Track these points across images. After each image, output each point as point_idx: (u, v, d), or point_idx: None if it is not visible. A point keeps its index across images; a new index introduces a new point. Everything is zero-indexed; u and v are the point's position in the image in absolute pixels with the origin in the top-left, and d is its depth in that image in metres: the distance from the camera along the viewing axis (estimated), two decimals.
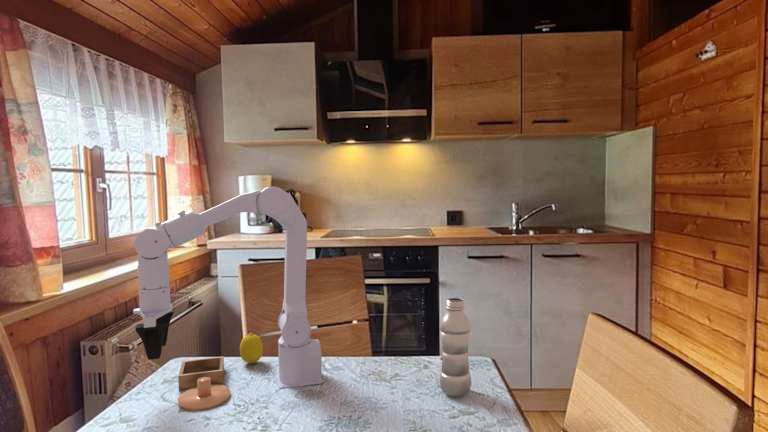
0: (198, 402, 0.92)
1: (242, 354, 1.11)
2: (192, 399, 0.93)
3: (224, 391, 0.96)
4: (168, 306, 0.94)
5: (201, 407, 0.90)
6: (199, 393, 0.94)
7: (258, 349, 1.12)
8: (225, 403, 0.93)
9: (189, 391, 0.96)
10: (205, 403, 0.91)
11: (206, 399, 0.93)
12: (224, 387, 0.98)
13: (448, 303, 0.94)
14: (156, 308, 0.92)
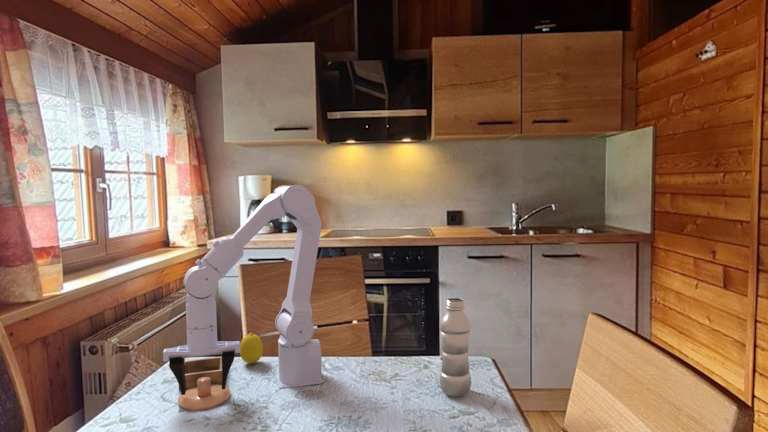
0: (198, 402, 0.92)
1: (242, 354, 1.11)
2: (192, 399, 0.93)
3: (224, 391, 0.96)
4: (195, 349, 0.91)
5: (201, 407, 0.90)
6: (199, 393, 0.94)
7: (258, 349, 1.12)
8: (225, 403, 0.93)
9: (189, 391, 0.96)
10: (205, 403, 0.91)
11: (206, 399, 0.93)
12: None
13: (448, 303, 0.94)
14: (187, 345, 0.93)
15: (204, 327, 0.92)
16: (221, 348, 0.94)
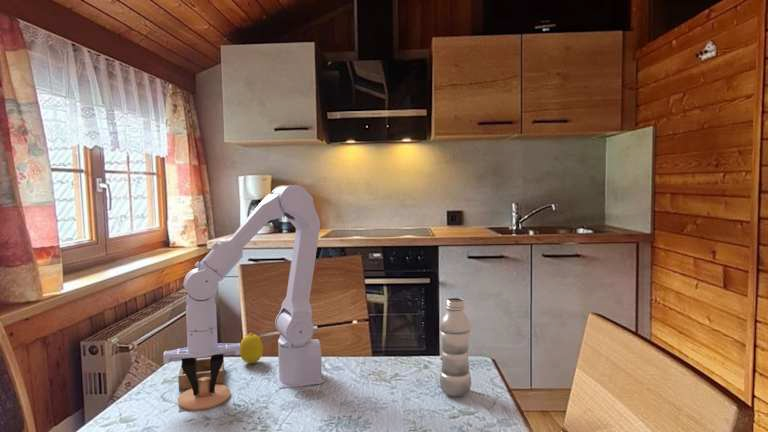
0: (198, 402, 0.92)
1: (242, 354, 1.11)
2: (192, 399, 0.93)
3: (224, 391, 0.96)
4: (196, 351, 0.91)
5: (201, 407, 0.90)
6: (199, 393, 0.94)
7: (258, 349, 1.12)
8: (225, 403, 0.93)
9: (189, 391, 0.96)
10: (205, 403, 0.91)
11: (206, 399, 0.93)
12: (224, 387, 0.98)
13: (448, 303, 0.94)
14: (187, 348, 0.93)
15: (204, 329, 0.92)
16: (221, 350, 0.94)
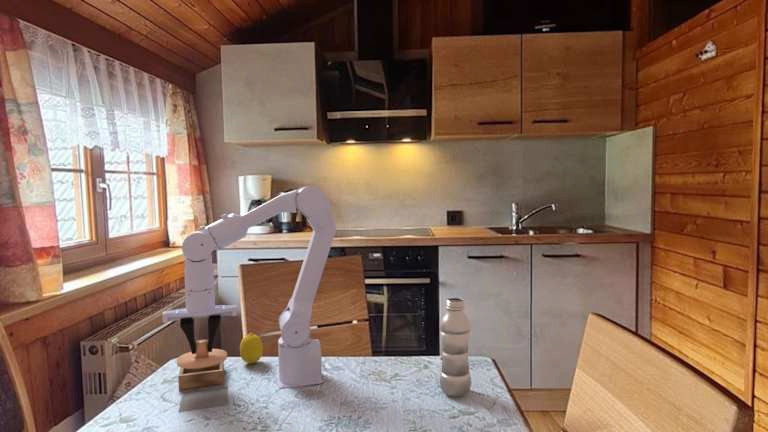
0: (196, 361, 0.95)
1: (242, 354, 1.11)
2: (190, 359, 0.96)
3: (221, 353, 0.99)
4: (194, 311, 0.95)
5: (199, 366, 0.93)
6: (197, 354, 0.97)
7: (258, 349, 1.12)
8: (225, 403, 0.93)
9: (187, 354, 1.00)
10: (203, 362, 0.94)
11: (203, 359, 0.96)
12: (221, 350, 1.01)
13: (448, 303, 0.94)
14: (186, 308, 0.96)
15: (199, 290, 0.95)
16: (219, 310, 0.97)
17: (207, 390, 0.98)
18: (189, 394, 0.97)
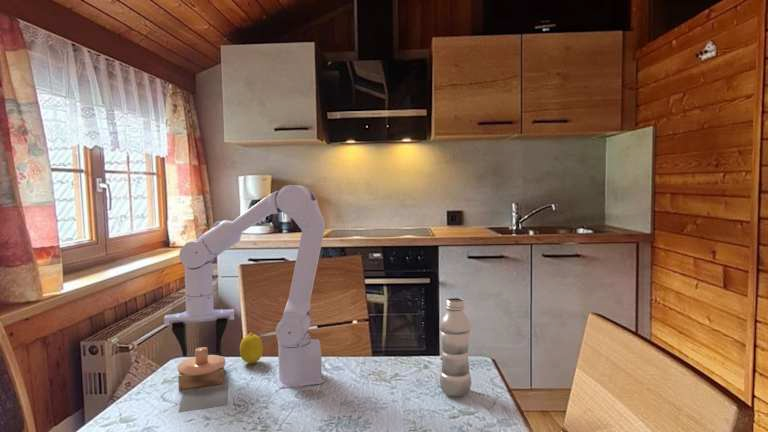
0: (195, 368, 1.01)
1: (242, 354, 1.11)
2: (190, 366, 1.02)
3: (220, 360, 1.05)
4: (193, 315, 1.01)
5: (198, 373, 0.99)
6: (197, 361, 1.03)
7: (258, 349, 1.12)
8: (225, 403, 0.93)
9: (188, 360, 1.05)
10: (202, 369, 1.00)
11: (203, 366, 1.02)
12: (220, 357, 1.07)
13: (448, 303, 0.94)
14: (186, 312, 1.02)
15: (194, 295, 1.01)
16: (217, 314, 1.03)
17: (207, 390, 0.98)
18: (189, 394, 0.97)
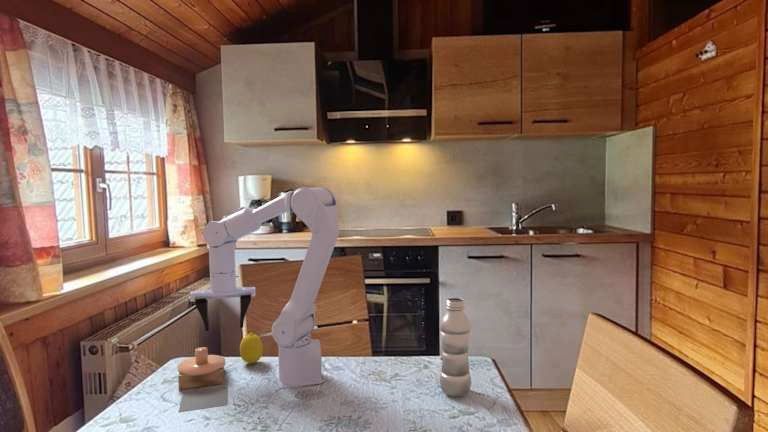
0: (195, 368, 1.01)
1: (242, 354, 1.11)
2: (190, 366, 1.02)
3: (220, 360, 1.05)
4: (218, 291, 1.06)
5: (198, 373, 0.99)
6: (197, 361, 1.03)
7: (258, 349, 1.12)
8: (225, 403, 0.93)
9: (188, 360, 1.05)
10: (202, 369, 1.00)
11: (203, 366, 1.02)
12: (220, 357, 1.07)
13: (448, 303, 0.94)
14: (210, 289, 1.07)
15: (215, 272, 1.06)
16: (239, 291, 1.08)
17: (207, 390, 0.98)
18: (189, 394, 0.97)
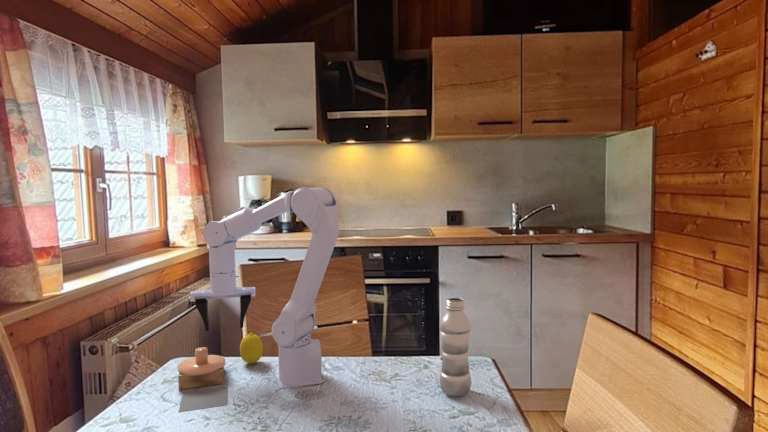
0: (195, 368, 1.01)
1: (242, 354, 1.11)
2: (190, 366, 1.02)
3: (220, 360, 1.05)
4: (218, 291, 1.06)
5: (198, 373, 0.99)
6: (197, 361, 1.03)
7: (258, 349, 1.12)
8: (225, 403, 0.93)
9: (188, 360, 1.05)
10: (202, 369, 1.00)
11: (203, 366, 1.02)
12: (220, 357, 1.07)
13: (448, 303, 0.94)
14: (210, 289, 1.07)
15: (215, 272, 1.06)
16: (239, 291, 1.08)
17: (207, 390, 0.98)
18: (189, 394, 0.97)
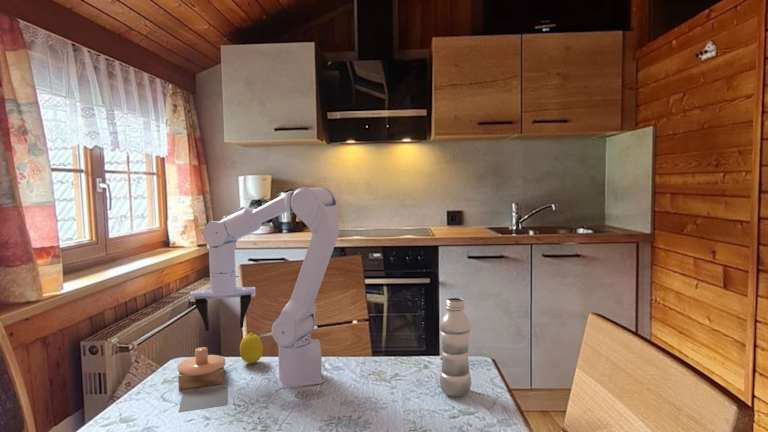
0: (195, 368, 1.01)
1: (242, 354, 1.11)
2: (190, 366, 1.02)
3: (220, 360, 1.05)
4: (218, 291, 1.06)
5: (198, 373, 0.99)
6: (197, 361, 1.03)
7: (258, 349, 1.12)
8: (225, 403, 0.93)
9: (188, 360, 1.05)
10: (202, 369, 1.00)
11: (203, 366, 1.02)
12: (220, 357, 1.07)
13: (448, 303, 0.94)
14: (210, 289, 1.07)
15: (215, 272, 1.06)
16: (239, 291, 1.08)
17: (207, 390, 0.98)
18: (189, 394, 0.97)
